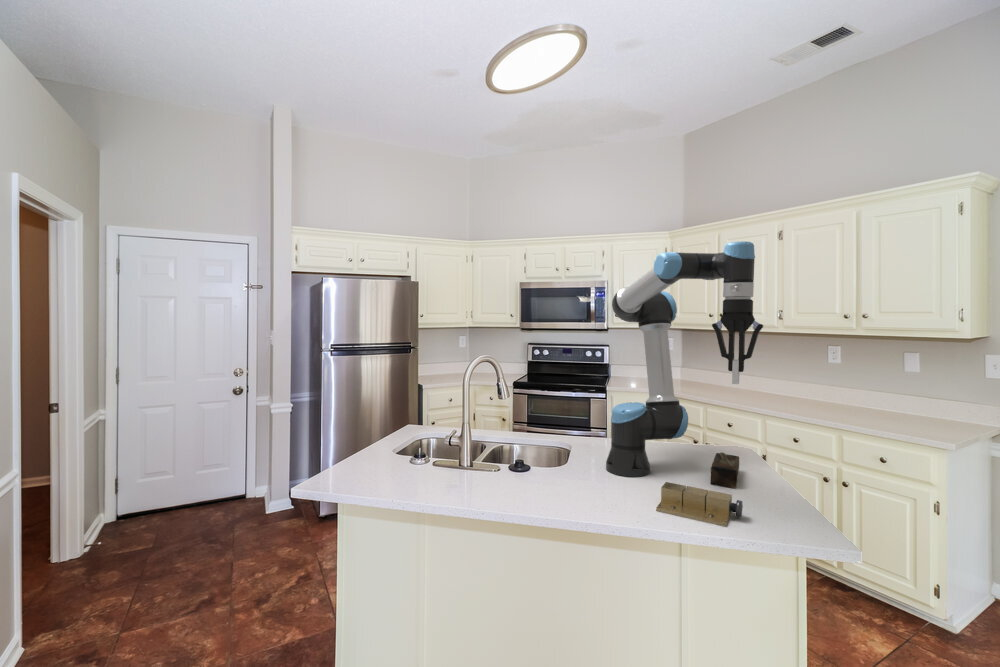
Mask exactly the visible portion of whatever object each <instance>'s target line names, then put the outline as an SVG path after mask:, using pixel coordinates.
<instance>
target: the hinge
mask: <svg viewBox="0 0 1000 667" xmlns="http://www.w3.org/2000/svg"><path fill="white" fill-rule="evenodd" d="M660 490H661V491H660V493H661V494H660V495H661V496H660V497H661V498H660V502H659V504H658V505H657V506H656V510H655V511H656V512H660V513H663V514H669V515H674V516H678V517H681V518H682V517H683V518H687V519H690V520H696V521H700V522H703V523H709V524H713V525H716V526H722V527H727V525H728V523H729V520H730V517H731V515H732V513H733V512H730V511H729V508H730V502H731V503H733V502H732V500H733V495H732V494H731V493H726V492H725V493H724V492H721V491H720V492H719V491H715V490H710V489H706V488H705V489H704V488H700V487H694V486H688V485H685V484H684V485H682V484H680V483H679V484H678V483H673V482H668V481H665V482H664V484H663V485H662V486H661V489H660Z"/></svg>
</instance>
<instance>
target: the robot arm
mask: <svg viewBox="0 0 1000 667" xmlns="http://www.w3.org/2000/svg"><path fill="white" fill-rule="evenodd" d="M755 258H756V255H755V245H754V243H753V242H751V241H732V242H727V243H726V244H725V245H724V249H723V252H718V253H710V252H709V253H708V252H705V253H701V252H676V251H669V252H661V253H659V254H657V256H656V258H655V260H654V262H653V267H651V269H650V270H648V271H647V272H646V273H645V274H643V275H642V276H640V278H638V279H636V280H635V282H633V283H632V284H630V285H629V286H625V287H622V288H620V289H619V290H618V291H617V292H616V293H615V294H614V296H613V298H612V301H611V302H612V303H611V308H612V311H613V313H614V315H615V316H616V317H617V318H618V319H620V320H621V321H624V322H627V323H638V329H639V330H640V331H641V332H642V333H643V341H644V342H643V343H644V344H643V345H644V354H645V363H646V364H645V365H646V366H645V367H646V375H647V377H646V378H647V388H648V398H647V399H646V400H645V403H643V402H635V401H634V402H623V403H619V404H616V405H615V406H613V408H612V410H611V418H610V422H611V426H610V428H611V429H610V430H611V432H610V433H611V434H610V435H611V436H610V437H611V439H610V440H611V443H610V444H611V445H610V450H609V452H608V456H607V458H606V461H605V470H607V472H609V473H610V474H613V475H618V476H621V477H627V478H628V477H631V478H632V477H633V478H636V477H644V476H647V475H649V474H650V473H651V464H650V460H649V458H648V454H647V451H646V441H651V440H652V441H653V440H654V441H657V440H672V439H679V438H682V437H683V436H684V434H685V433H686V432H687V429H688V425H689V415H688V414H689V413H688V412H687V411H686V407H684V406H683V405H681V403H680V400H679V399H678V398H677V397H676V396H675V391H674V390H675V388H674V382H673V380H674V379H673V371H672V361H671V360H672V358H671V353H670V352H671V351H670V341H669V330H670V328H671V327H672V322H673V321H675V319H676V318H677V313H678V307H677V302H676V300H675V298H674V297H673V295H671V294H670V293H669V292H667V291H664V290H666V289H668V288H669V287H670V286H672V285H674V284H675V283H676V282H678V281H679V280H682V279H683V280H704V281H714V280H720V279H723V281H722V282H723V283H722V284H723V286H722V287H723V290H722V297H723V298H724V299H723V300H722V315H721V317H720V319H719V320H718V321H717V322H715V323H714V322H713V323H712V324H711V327H712V329H713V330H714V331H715V334H716V338H717V342H718V347H719V352H720V356H721V358H723V359H724V358H725V359H727V362H728V364H727V370H728V372H732V373H731V378H732V379H731V384H732V385H739V384H740V373H743V372H744V371H745V360H749V359H751V358H752V356H753V353H754V350H755V346H756V343H757V341H758V336H759V333H760V332H761V331H762V329H763V328H764V325H763V323H760V322H758V321H756V319H755V317H754V300H753V299H752V298H753V297H754V290H755V289H754V287H755V285H754V284H755V282H754V281H755V280H754V279H755V276H754V274H755ZM752 325H753V326H752ZM723 326H724V328H725V329H726V330H727V331H728V347H726V343H725V339H724V335H723V331H722V328H723ZM751 326H752V330H753V331H752V335H751V338H750V340H749V344H748V348H747V350H746V348H745V346H746V332H747V331H748V330H749V329H750V328H751ZM736 333H738V359H735V341H736V340H735V339H736V338H735V337H736ZM727 348H728V350H727ZM745 350H746V352H745ZM727 351H728V352H727ZM745 353H746V354H745Z"/></svg>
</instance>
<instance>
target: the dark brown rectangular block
mask: <svg viewBox="0 0 1000 667" xmlns="http://www.w3.org/2000/svg"><path fill="white" fill-rule="evenodd" d="M739 470H740V456H739V455H733V454H727V453H725V452H717V453H715V456H714V459H713V460H712V463H711V467H710V478H709V479H710V481H709V482H710V485H713V486H718V487H723V488H729V489H734V490H735V489H736V488H737V485H738V480H739Z"/></svg>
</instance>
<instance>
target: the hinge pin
mask: <svg viewBox="0 0 1000 667" xmlns="http://www.w3.org/2000/svg"><path fill="white" fill-rule="evenodd" d="M743 508H744V506H743V500H739V499H737V500H736V502H732V503H731V502H730V508H729V511H730V512H732V513H735V517H736V518H742V517H743V516H742V515H743Z"/></svg>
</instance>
